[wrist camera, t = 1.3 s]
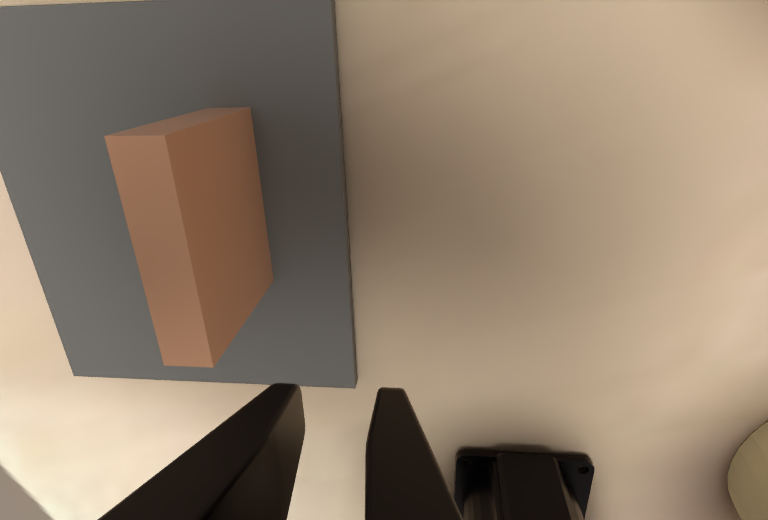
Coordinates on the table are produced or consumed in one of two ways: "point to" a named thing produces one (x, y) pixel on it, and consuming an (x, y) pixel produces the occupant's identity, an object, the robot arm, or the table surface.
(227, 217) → the tile
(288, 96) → the mat
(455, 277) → the table surface
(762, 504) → the reusable coffee cup
